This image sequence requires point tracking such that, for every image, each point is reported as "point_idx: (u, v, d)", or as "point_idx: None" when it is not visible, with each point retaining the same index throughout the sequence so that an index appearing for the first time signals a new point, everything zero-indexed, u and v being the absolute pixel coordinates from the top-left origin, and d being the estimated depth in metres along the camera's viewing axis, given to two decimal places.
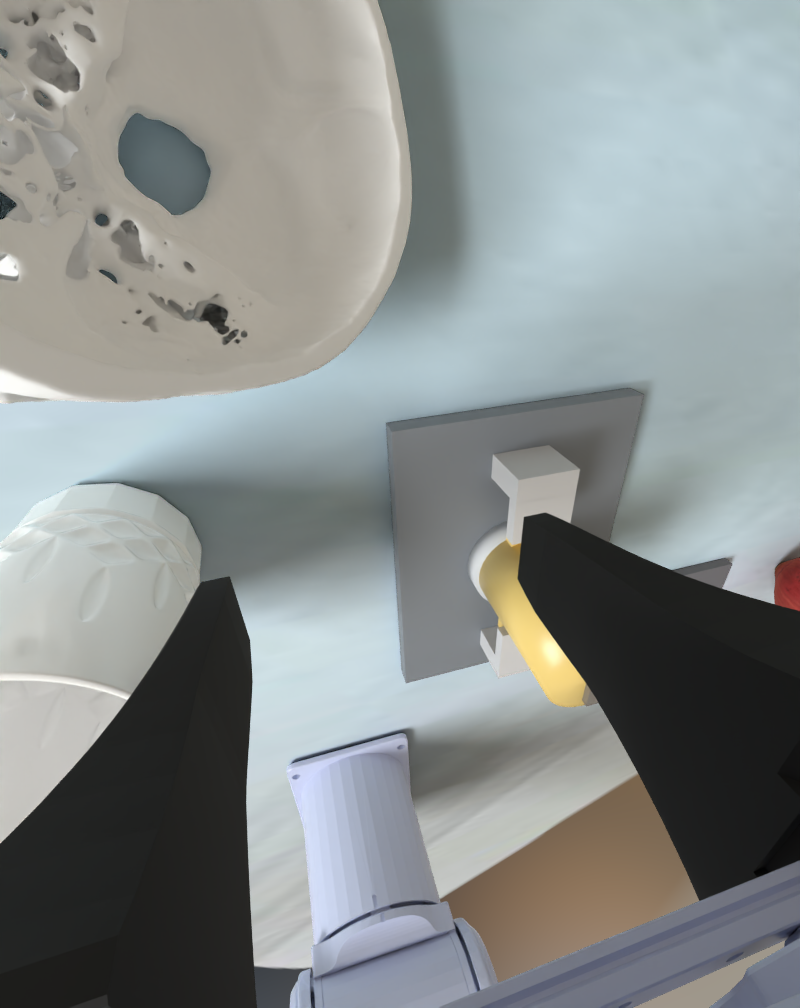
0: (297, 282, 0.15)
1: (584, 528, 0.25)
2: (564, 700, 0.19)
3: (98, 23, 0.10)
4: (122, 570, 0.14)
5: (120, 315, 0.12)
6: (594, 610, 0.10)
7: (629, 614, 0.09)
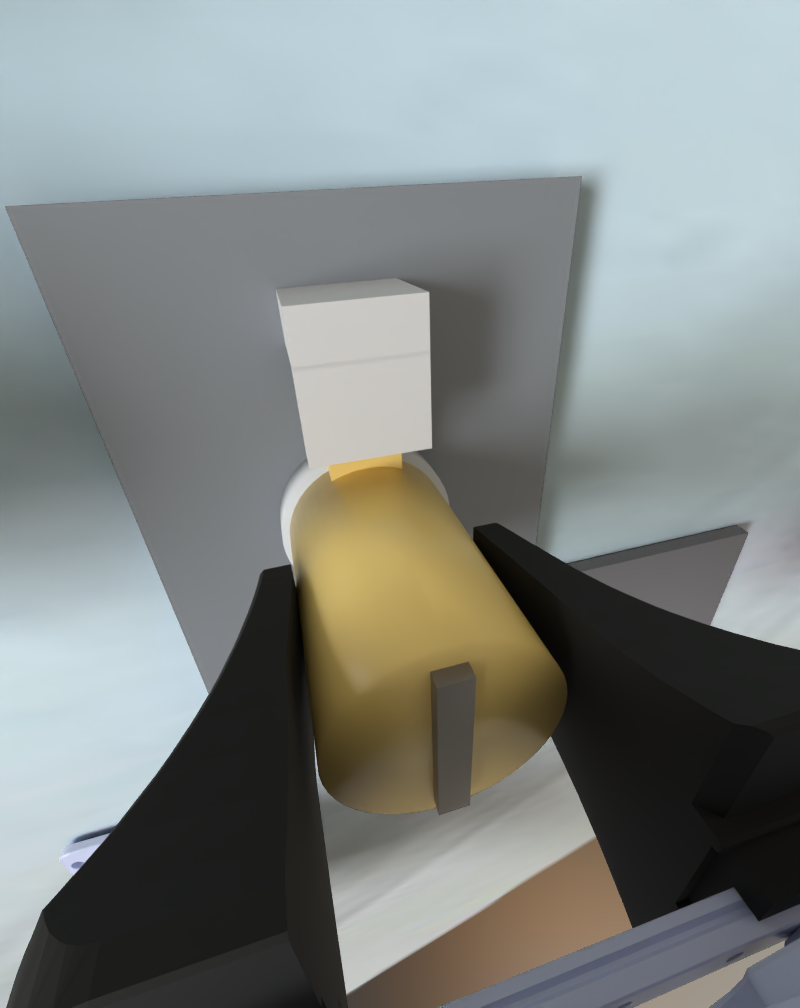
0: None
1: (495, 461, 0.15)
2: (388, 802, 0.09)
3: None
4: None
5: None
6: (535, 625, 0.09)
7: (564, 631, 0.08)
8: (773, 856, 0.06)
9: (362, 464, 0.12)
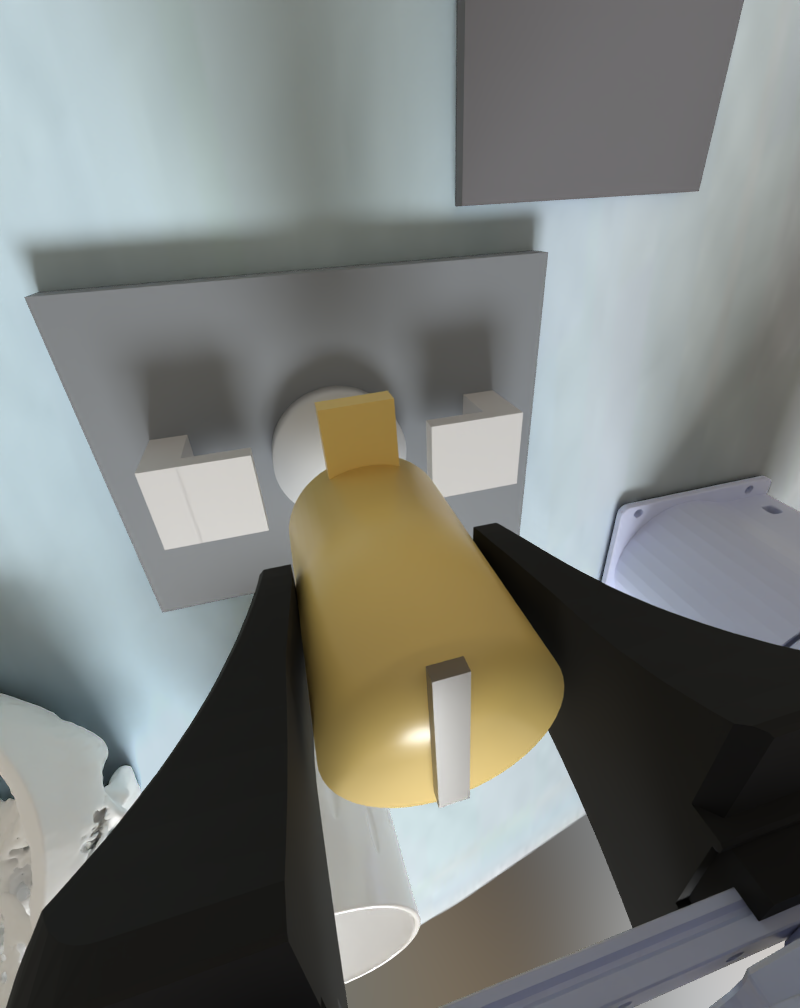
0: None
1: (295, 334, 0.15)
2: (388, 795, 0.09)
3: None
4: None
5: None
6: (535, 625, 0.09)
7: (564, 631, 0.08)
8: (773, 856, 0.06)
9: (359, 462, 0.12)
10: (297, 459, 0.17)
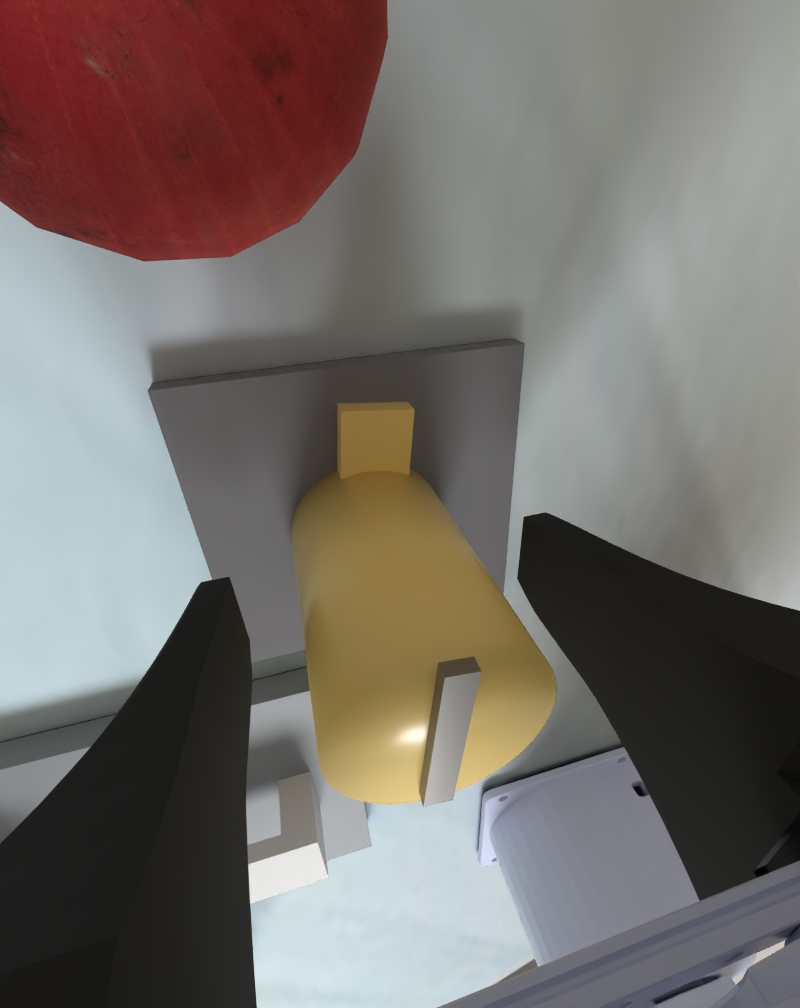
0: None
1: None
2: (376, 791, 0.09)
3: None
4: None
5: None
6: (594, 610, 0.10)
7: (629, 614, 0.09)
8: None
9: (372, 466, 0.12)
10: None
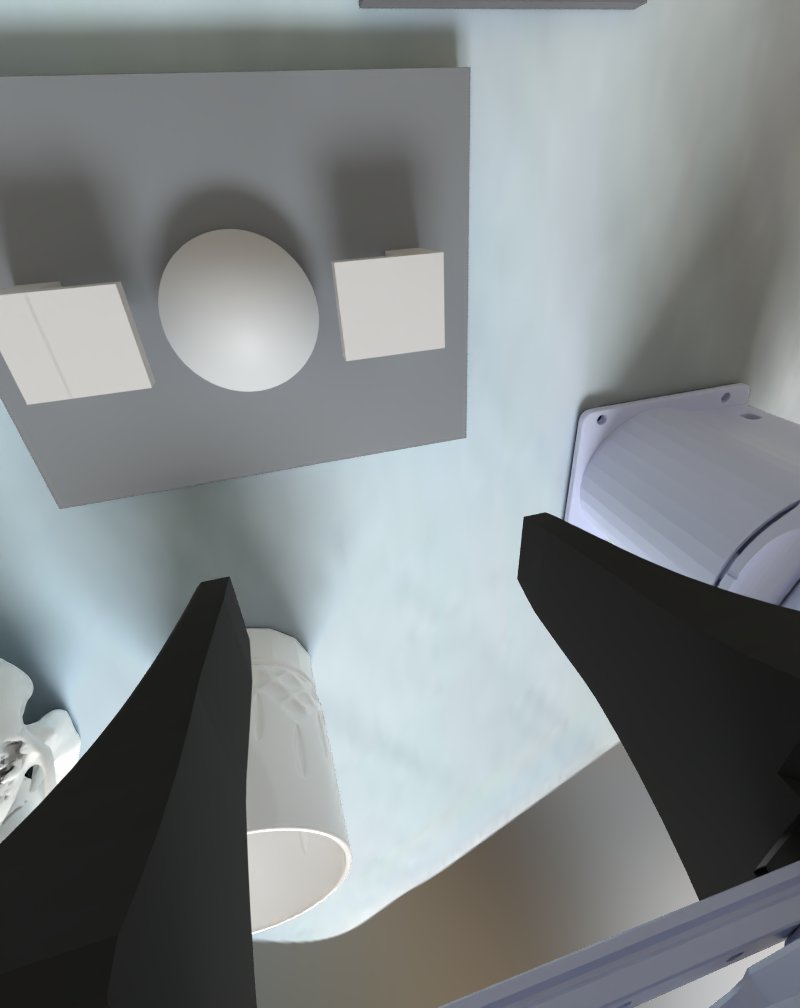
0: None
1: (175, 156, 0.13)
2: None
3: None
4: None
5: None
6: (594, 611, 0.10)
7: (629, 614, 0.09)
8: None
9: None
10: (187, 313, 0.15)
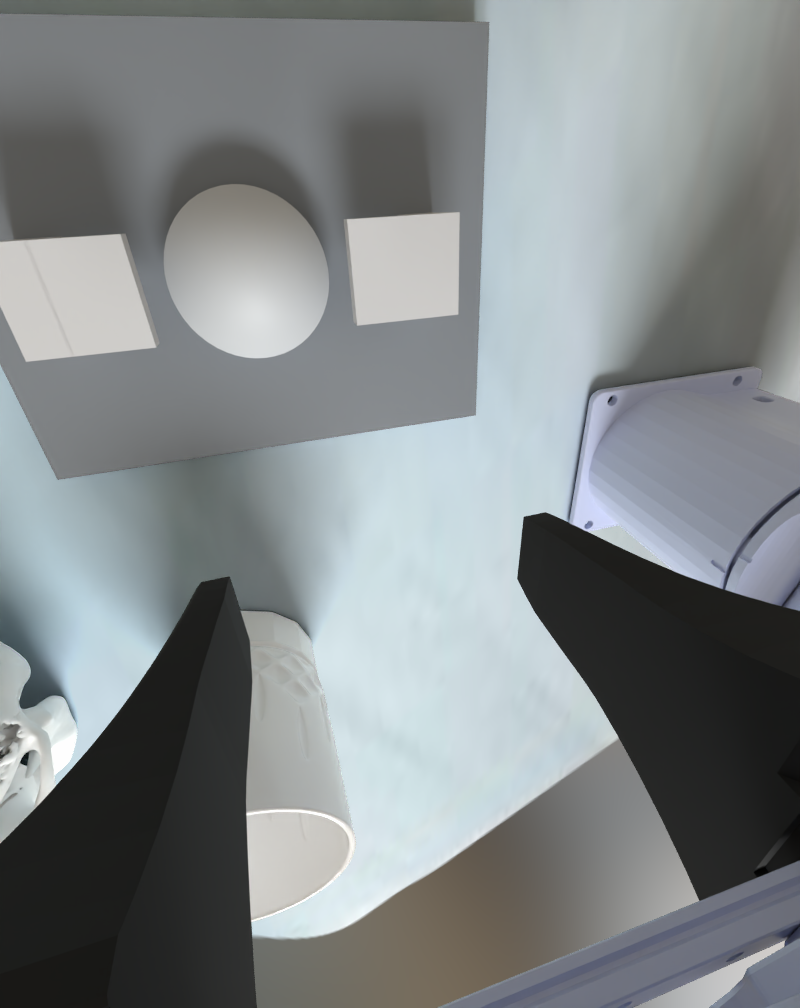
0: None
1: (184, 106, 0.13)
2: None
3: None
4: None
5: None
6: (595, 610, 0.10)
7: (629, 614, 0.09)
8: None
9: None
10: (194, 272, 0.14)
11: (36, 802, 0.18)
